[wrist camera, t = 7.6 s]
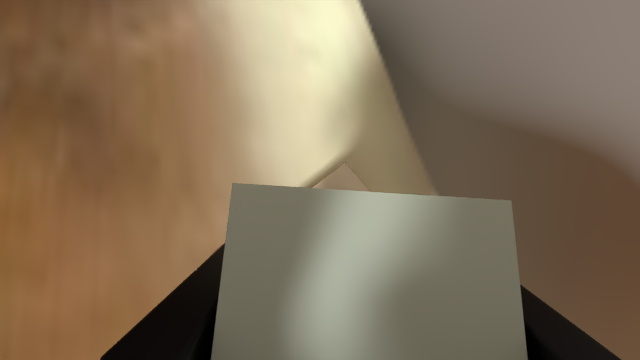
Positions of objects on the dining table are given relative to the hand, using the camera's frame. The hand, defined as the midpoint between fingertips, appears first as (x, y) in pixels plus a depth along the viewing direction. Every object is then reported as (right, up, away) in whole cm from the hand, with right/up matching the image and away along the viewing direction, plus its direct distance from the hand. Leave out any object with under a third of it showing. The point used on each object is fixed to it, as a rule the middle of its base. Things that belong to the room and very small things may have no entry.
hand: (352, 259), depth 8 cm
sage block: (0, -3, +6) cm, 7 cm away
